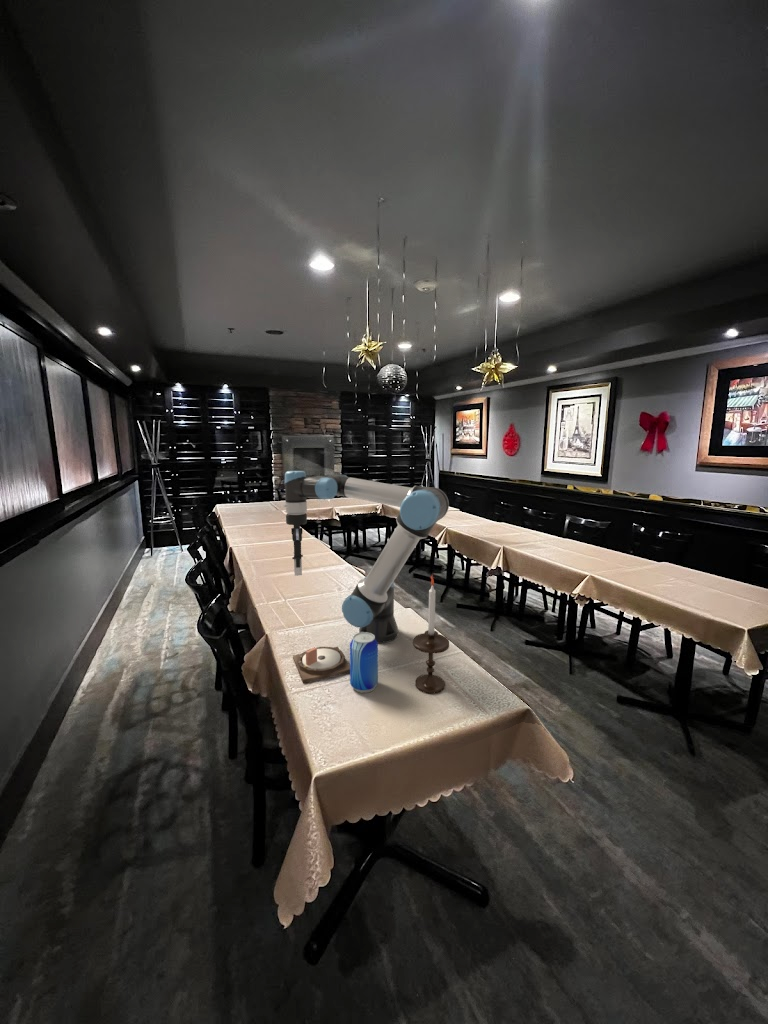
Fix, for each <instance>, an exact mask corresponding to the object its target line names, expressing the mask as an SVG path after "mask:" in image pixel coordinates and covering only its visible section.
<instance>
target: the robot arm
mask: <svg viewBox="0 0 768 1024" xmlns="http://www.w3.org/2000/svg"><path fill="white" fill-rule="evenodd" d="M306 474H307V473H306V472H305V471H304V470H288V471H285V473H284V492H285V493H284V494H285V495H284V496H285V503H284V504H283V507H284V508H285V512H286V514H285V523H286V524H287V525H289V526H293V527H292V528H291V532H290V533H291V537H292V539H291V540H292V542H293V557H292V560H293V563H294V564H293V568H294V569H293V570H294V576H295V577H296V576H302V575H303V569H302V568H303V565H302V558H303V557H304V555H303V554H302V540H303V527H301V525H306V524H307V523H308V514H307V511H308V510H307V509H308V508H307V507H308V506H307V499H319V500H332V499H334V498H335V497H336V496H341V497H345V498H350V499H357V500H362V501H368V502H372V503H377V504H381V505H387V506H393V507H397V508H399V513H398V515H397V517H396V520H395V521H396V524H397V526H396V527H395V528H394V531H393V532H392V534H391V535H390V538H389V539H388V541H387V542H386V544H385V546H384V548H383V549H382V551H381V552H380V554H379V556H378V558H377V560H375V562H374V564H373V566H372V567H371V569H370V571H369V573H368V574H367V576H364V578H363V579H360V580H359V581H358V582H357V584H356V586H355V587H354V589H353V591H352V592H351V594H350V595H348V596H347V597H345V599H344V600H343V601H342V604H341V612H342V615H343V618H344V619H345V620H346V622H347V623H349V624H350V626H353V627H354V628H355V627H356V628H359V630H358V631H359V632H358V633H361V632H368V633H371V634H373V635H374V636H375V639H376V641H377V643H379V644H382V643H387V642H388V643H389V642H391V641H394V640H396V638H397V637H398V636H399V628H398V624H397V622H396V621H397V620H396V618H395V616H394V615H395V613H394V612H395V611H394V607H395V605H394V604H395V583H394V582H395V580H396V578H397V577H398V575H399V573H400V572H401V570H402V568H403V567H404V565H405V564H406V562H407V560H409V557H410V556H411V555H412V553H413V551H414V549H415V548H416V547H417V545H418V543H419V541H420V540H422V539H427V538H428V536H429V535H430V533H432V530H433V528H434V527H435V525H436V524H437V523H438V521H440V520H442V519H443V518H445V516H446V515H447V513H448V511H449V509H450V508H449V507H450V502H449V498H448V496H447V493H445V492H444V491H443V490H442V489H440V488H438V487H434V486H432V487H431V486H430V487H429V486H421V485H414V486H413V487H409V486H402V485H397V484H391V483H384V482H379V481H373V480H367V479H363V478H357V477H350V476H347V475H345V474H335V475H328V476H318V477H317V476H315V477H314V476H310V477H309V476H307V475H306Z"/></svg>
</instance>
